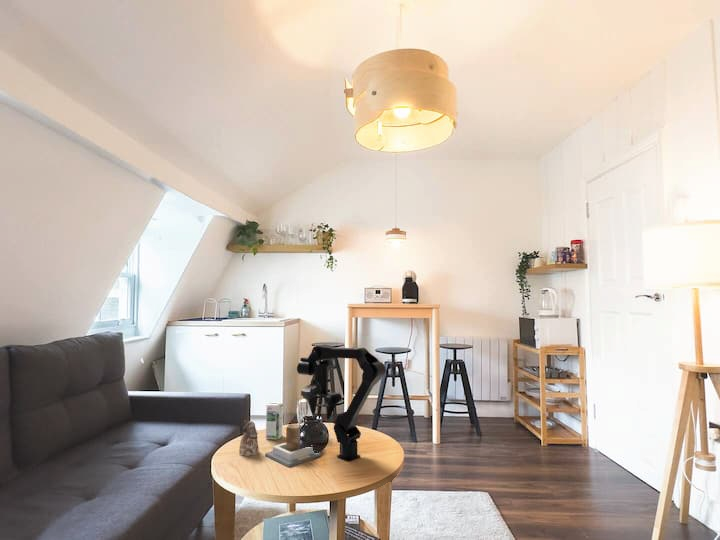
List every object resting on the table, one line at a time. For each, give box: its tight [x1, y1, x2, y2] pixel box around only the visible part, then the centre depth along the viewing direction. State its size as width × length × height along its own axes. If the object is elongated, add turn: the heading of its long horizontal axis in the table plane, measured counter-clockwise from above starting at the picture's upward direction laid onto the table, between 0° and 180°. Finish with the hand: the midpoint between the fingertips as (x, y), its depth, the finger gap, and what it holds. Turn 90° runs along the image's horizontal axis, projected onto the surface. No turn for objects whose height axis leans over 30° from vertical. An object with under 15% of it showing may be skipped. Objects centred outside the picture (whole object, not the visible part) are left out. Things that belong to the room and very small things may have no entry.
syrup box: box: [265, 401, 284, 441], centre depth 176 cm, size 6×6×14 cm
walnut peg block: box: [285, 423, 301, 452], centre depth 155 cm, size 4×4×10 cm
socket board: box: [264, 442, 322, 468], centre depth 154 cm, size 15×15×4 cm
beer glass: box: [296, 398, 313, 425], centre depth 179 cm, size 7×7×15 cm
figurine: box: [238, 420, 259, 457], centre depth 158 cm, size 7×7×12 cm
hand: (320, 416), depth 161 cm, fingers open, 9 cm apart
